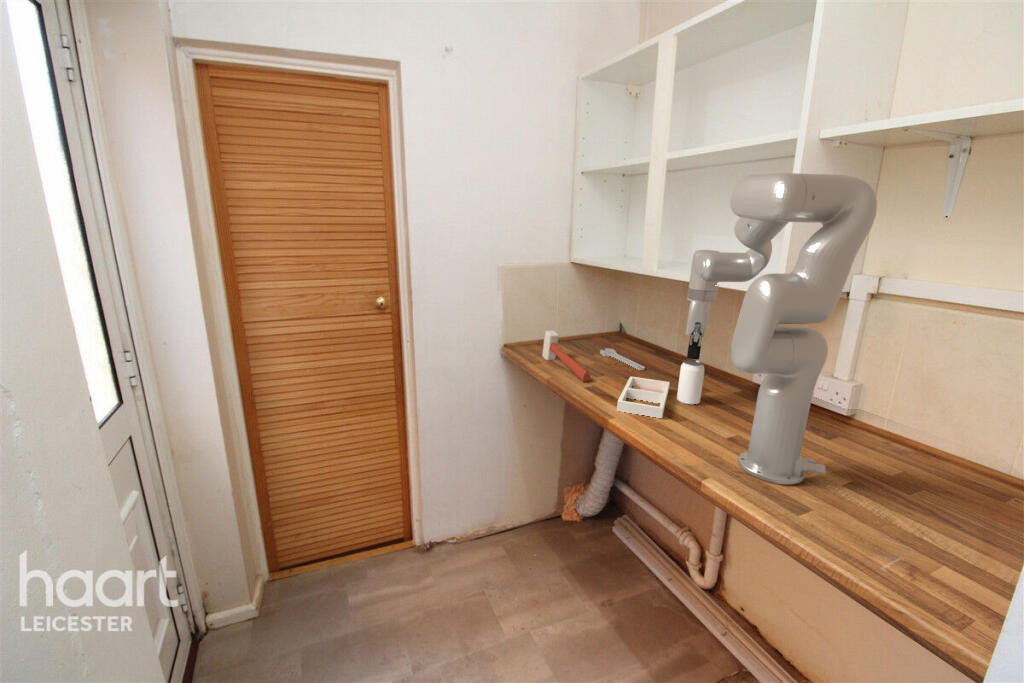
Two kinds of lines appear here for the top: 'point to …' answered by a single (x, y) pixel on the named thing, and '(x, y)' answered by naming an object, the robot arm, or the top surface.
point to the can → (690, 382)
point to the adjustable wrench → (621, 358)
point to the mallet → (562, 355)
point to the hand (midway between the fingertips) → (693, 353)
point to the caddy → (644, 396)
